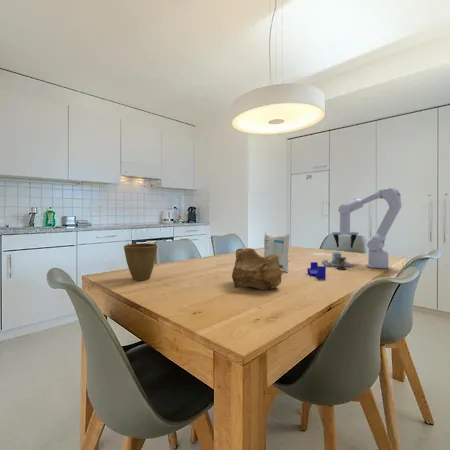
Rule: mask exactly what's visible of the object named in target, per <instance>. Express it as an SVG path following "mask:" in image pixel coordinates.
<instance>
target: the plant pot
mask: <svg viewBox="0 0 450 450" xmlns="http://www.w3.org/2000/svg"><path fill="white" fill-rule="evenodd" d="M123 250H124V255H125V260H126V263H127V264H126V265H127V267H128V271H129V273H130V276H131V278H132V280H133V281H135V282H143V281H148V280H150V279H151V276H152V273H153V270H154V267H155V266H154V265H155V262H156V256H157V250H158V244H156V243H149V242H148V243H130V244H125V245H123Z"/></svg>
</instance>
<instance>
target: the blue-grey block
mask: <svg viewBox="0 0 450 450" xmlns="http://www.w3.org/2000/svg"><path fill="white" fill-rule="evenodd" d="M336 257H342V253H341V252H338V251H333V252H332V257H331V258H332V259H331V261H332V262H333V263H334V264H339V259H336Z"/></svg>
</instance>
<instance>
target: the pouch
mask: <svg viewBox="0 0 450 450" xmlns="http://www.w3.org/2000/svg"><path fill="white" fill-rule="evenodd" d="M263 241H264V242H263V246H264V248H263V257H264V258H266V257H267V256H269V255H271V254H275V255H277V256H278V258H279V267H280V269H281V271H284V272H285V273H287V274H288V273H289V245H290V233H287V234H284V235H283V234H282V235H279V234H278V235H276V234H272V233H268V231H264V240H263Z"/></svg>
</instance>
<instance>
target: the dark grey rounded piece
mask: <svg viewBox="0 0 450 450" xmlns="http://www.w3.org/2000/svg"><path fill="white" fill-rule="evenodd" d="M336 259H339V266H338V267H335V268H336V270H342V269H343V270H344V269H345V270H347V267H344V259H345V260H347V257H345V256H341V257H336ZM345 270H344V271H345Z"/></svg>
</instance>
